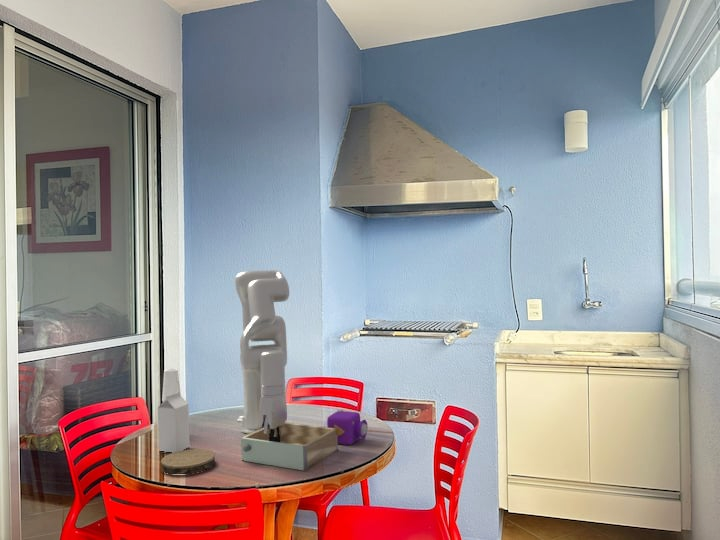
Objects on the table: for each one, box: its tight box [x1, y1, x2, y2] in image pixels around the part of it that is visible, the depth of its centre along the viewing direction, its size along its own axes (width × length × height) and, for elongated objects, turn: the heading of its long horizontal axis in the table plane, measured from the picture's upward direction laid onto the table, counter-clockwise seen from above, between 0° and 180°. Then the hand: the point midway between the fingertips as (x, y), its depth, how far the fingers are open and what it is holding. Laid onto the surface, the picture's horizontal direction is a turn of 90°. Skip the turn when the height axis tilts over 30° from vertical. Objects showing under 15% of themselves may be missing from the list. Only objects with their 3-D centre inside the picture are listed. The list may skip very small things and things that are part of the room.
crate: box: [241, 422, 339, 470], centre depth 179 cm, size 24×19×7 cm
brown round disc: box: [160, 448, 216, 475], centre depth 171 cm, size 16×16×3 cm
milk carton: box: [157, 391, 190, 453], centre depth 187 cm, size 7×7×19 cm
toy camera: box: [326, 409, 368, 446], centre depth 191 cm, size 11×14×10 cm
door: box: [240, 436, 308, 472], centre depth 169 cm, size 24×2×7 cm, turn 63°
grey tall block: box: [161, 368, 182, 403], centre depth 205 cm, size 7×7×24 cm
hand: (274, 448), depth 174 cm, fingers closed
